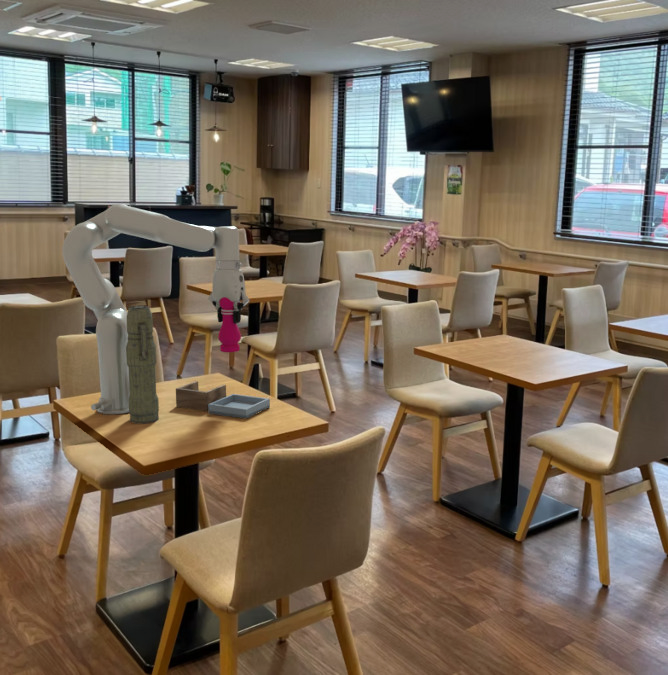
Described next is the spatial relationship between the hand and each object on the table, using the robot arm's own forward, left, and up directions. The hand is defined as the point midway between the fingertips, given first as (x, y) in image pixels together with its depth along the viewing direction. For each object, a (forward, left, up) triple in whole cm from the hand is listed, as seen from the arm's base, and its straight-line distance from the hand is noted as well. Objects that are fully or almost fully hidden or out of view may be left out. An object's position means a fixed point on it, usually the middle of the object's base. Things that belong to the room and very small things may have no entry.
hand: (229, 321), depth 258 cm
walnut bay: (-4, +8, -27) cm, 29 cm away
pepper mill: (0, 0, -10) cm, 10 cm away
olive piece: (-26, +14, -28) cm, 41 cm away
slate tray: (-5, -7, -27) cm, 29 cm away
